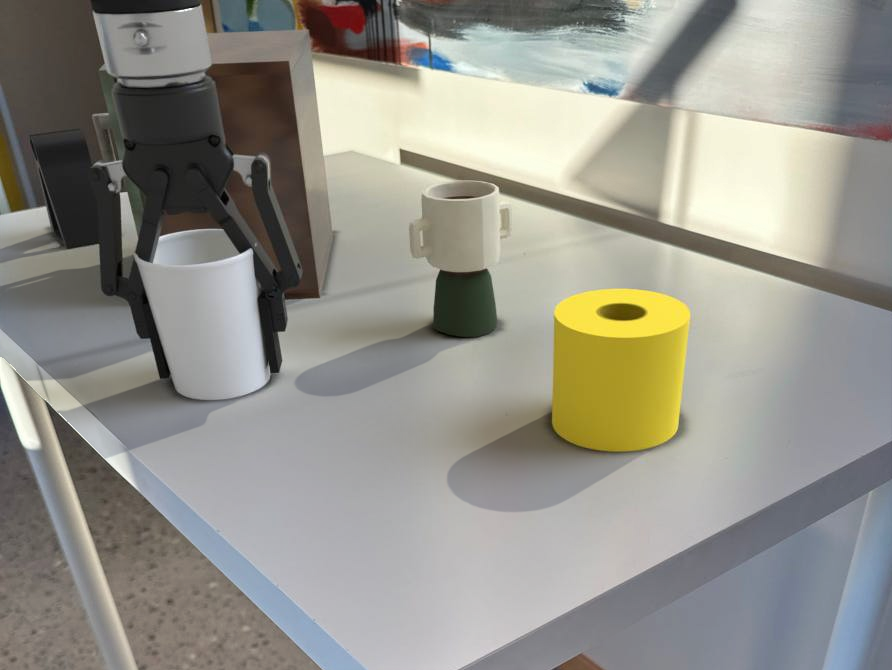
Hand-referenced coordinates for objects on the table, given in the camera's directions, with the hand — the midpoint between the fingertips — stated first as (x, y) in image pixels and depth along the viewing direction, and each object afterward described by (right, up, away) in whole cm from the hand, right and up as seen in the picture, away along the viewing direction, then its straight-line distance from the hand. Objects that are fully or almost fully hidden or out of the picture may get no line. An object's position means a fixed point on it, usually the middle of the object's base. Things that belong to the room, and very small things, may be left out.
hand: (221, 369), depth 85 cm
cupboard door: (-15, +18, +25) cm, 35 cm away
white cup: (0, -1, +1) cm, 2 cm away
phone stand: (-28, +27, +38) cm, 54 cm away
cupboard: (-3, +19, +26) cm, 32 cm away
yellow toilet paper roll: (+34, -7, -7) cm, 35 cm away
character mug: (+21, +6, +9) cm, 24 cm away
